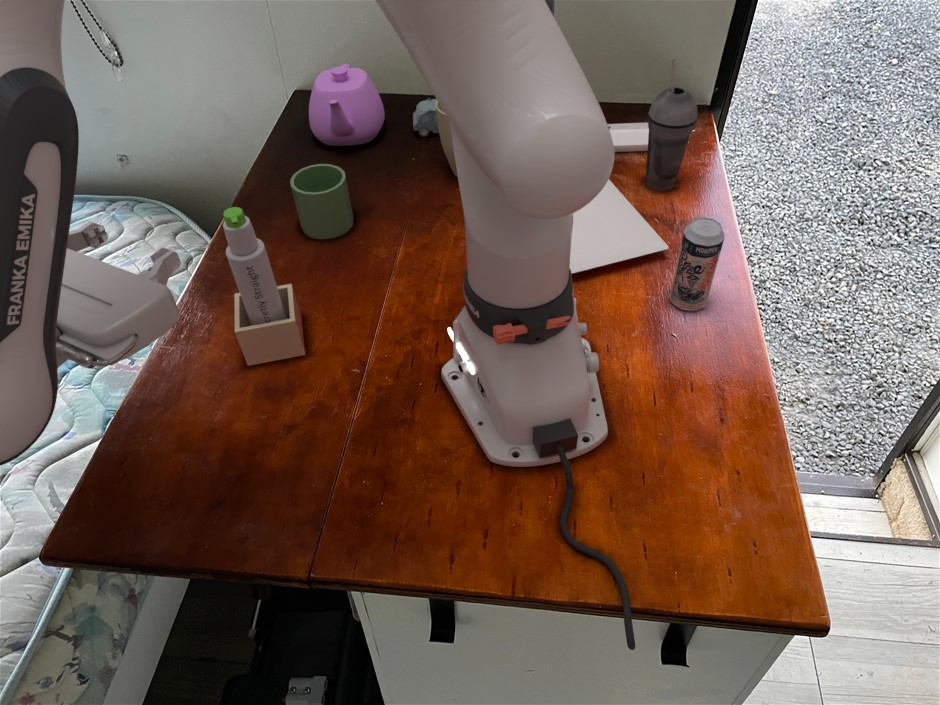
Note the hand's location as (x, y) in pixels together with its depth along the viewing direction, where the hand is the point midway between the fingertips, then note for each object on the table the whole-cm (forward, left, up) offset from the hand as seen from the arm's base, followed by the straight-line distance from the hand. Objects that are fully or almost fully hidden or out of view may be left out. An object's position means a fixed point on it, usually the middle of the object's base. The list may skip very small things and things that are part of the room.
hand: (136, 241), depth 67 cm
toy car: (+57, -40, -24) cm, 74 cm away
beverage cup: (+29, -70, -24) cm, 79 cm away
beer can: (+2, -62, -24) cm, 67 cm away
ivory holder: (+9, -8, -24) cm, 27 cm away
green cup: (+33, -17, -24) cm, 44 cm away
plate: (+21, -51, -24) cm, 60 cm away
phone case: (+43, -69, -24) cm, 85 cm away
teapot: (+59, -23, -24) cm, 68 cm away
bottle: (+9, -8, -24) cm, 27 cm away
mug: (+42, -42, -24) cm, 64 cm away
